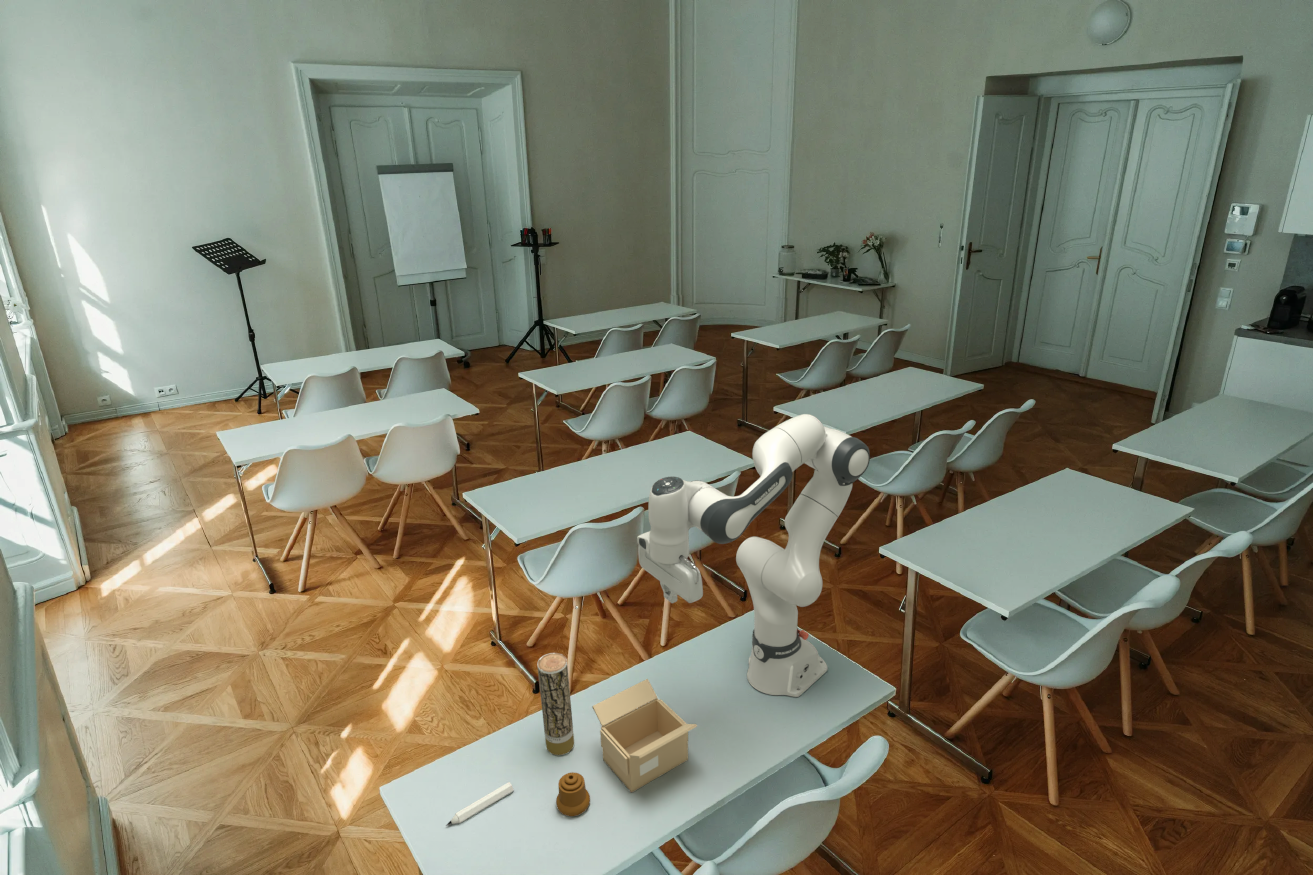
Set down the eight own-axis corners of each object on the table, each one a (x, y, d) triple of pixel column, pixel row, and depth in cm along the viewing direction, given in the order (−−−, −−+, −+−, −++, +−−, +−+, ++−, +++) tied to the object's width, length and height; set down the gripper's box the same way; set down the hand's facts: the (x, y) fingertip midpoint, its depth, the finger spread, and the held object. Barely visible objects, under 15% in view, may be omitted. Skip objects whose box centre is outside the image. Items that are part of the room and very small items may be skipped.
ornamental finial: (569, 824, 166) (549, 803, 171) (597, 805, 171) (577, 785, 176) (566, 796, 163) (546, 776, 168) (595, 777, 168) (574, 758, 173)
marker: (446, 831, 167) (511, 791, 176) (449, 833, 165) (514, 792, 174) (441, 819, 167) (507, 780, 176) (445, 821, 165) (510, 781, 174)
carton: (660, 729, 191) (659, 696, 187) (690, 758, 182) (689, 725, 178) (601, 761, 182) (598, 728, 178) (629, 794, 173) (627, 760, 169)
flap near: (629, 757, 170) (639, 758, 166) (629, 754, 170) (639, 756, 166) (686, 726, 178) (697, 726, 174) (685, 723, 178) (696, 724, 174)
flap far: (656, 698, 187) (646, 679, 189) (657, 697, 186) (647, 678, 188) (601, 726, 179) (592, 706, 181) (602, 725, 178) (592, 705, 180)
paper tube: (569, 758, 183) (561, 673, 174) (542, 754, 184) (533, 670, 175) (578, 737, 189) (570, 654, 180) (551, 734, 191) (543, 651, 181)
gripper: (709, 562, 167) (709, 615, 172) (654, 525, 182) (656, 576, 187) (686, 572, 163) (687, 626, 168) (632, 534, 179) (634, 585, 184)
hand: (670, 599), depth 178 cm, fingers closed
